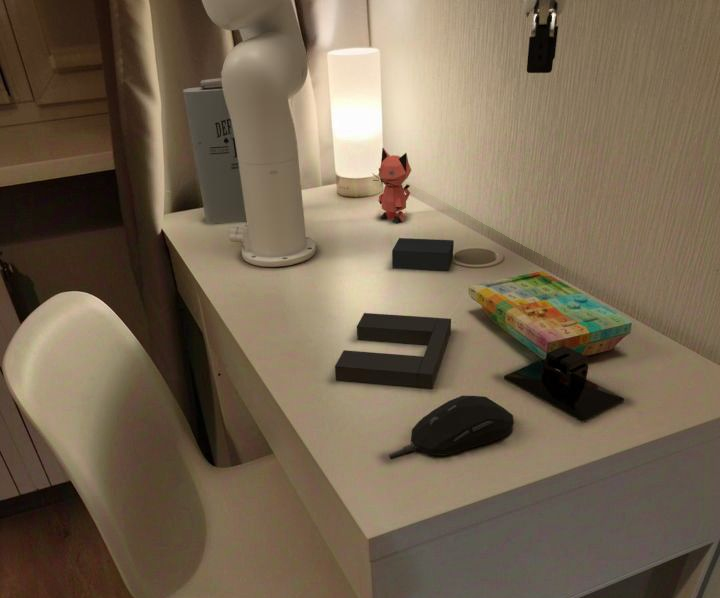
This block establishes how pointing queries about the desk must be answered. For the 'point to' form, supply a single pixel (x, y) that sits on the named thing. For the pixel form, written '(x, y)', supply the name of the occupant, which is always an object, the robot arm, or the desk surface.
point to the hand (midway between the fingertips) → (541, 65)
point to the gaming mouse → (459, 426)
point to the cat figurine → (394, 185)
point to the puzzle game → (550, 314)
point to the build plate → (565, 384)
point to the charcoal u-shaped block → (393, 365)
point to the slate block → (422, 254)
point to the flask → (215, 153)
